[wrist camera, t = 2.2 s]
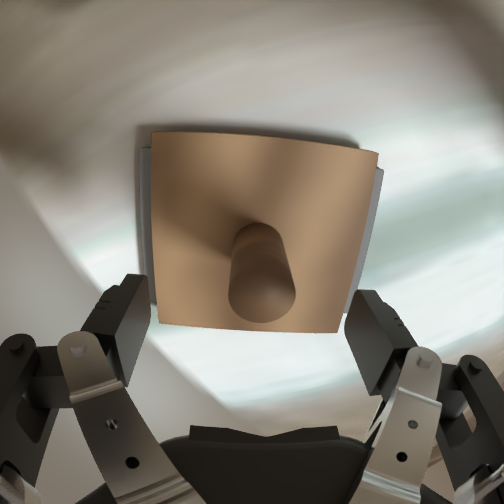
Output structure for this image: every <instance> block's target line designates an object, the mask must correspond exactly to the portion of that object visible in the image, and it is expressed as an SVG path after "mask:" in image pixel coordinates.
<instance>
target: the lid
mask: <svg viewBox="0 0 504 504" xmlns="http://www.w3.org/2000/svg"><path fill="white" fill-rule="evenodd" d="M378 155H379V153H376V152H373V151H369V150H364V149H358V148H353V147H347V146H341V145H334V144H328V143H321V142H314V141H306V140H298V139H290V138H280V137H271V136H260V135H247V134H233V133H214V132H183V131H156V132H152V134H151V220H152V244H153V261H154V275H155V288H156V299H157V309H158V319H159V323H161V324H170V325H180V326H191V327H203V328H215V329H229V330H246V331H265V332H293V333H337V332H338V329H339V325H340V322H341V319H342V315H343V312H344V308H345V305H346V301H347V298H348V294H349V291H350V287H351V283H352V279H353V276H354V272H355V268H356V264H357V260H358V256H359V251H360V247H361V243H362V239H363V234H364V230H365V225H366V220H367V216H368V211H369V206H370V201H371V195H372V190H373V185H374V179H375V173H376V167H377V161H378Z"/></svg>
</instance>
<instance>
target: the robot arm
mask: <svg viewBox="0 0 504 504" xmlns="http://www.w3.org/2000/svg"><path fill="white" fill-rule="evenodd" d="M150 318H151V307H150V296H149V285H148V277H147V276H146V275H138V274H127V275H126V276H125V278H124V280H123V281H122V283H121V284H120V286H118V285H113V286H112V287H110V288H109V289H108V290H106V291H105V292H104V293H103V295H102V296H101V298H100V299H99V302H98V303H97V304H96V306H95V309H93V310H92V312H91V314H90V315H89V317H88V318H87V320H86V322H85V323H84V325H83V326H82V328H81V330H80V331H77V332H72V333H69V334H67V335H66V336H64V337H63V338H62V339H61V340H60V341H59V344H58V346H44V347H37V346H36V343H35V341H34V339H33V338H32V337H31V336H30V335H27V334H15V335H13V336H10V337H9V338H7V339H6V340H5V341H4V342H3V343H2V344H1V346H0V504H42V499H41V496H40V494H39V493H38V491H37V490H36V489H35V484H36V480H37V476H38V473H39V469H40V466H41V462H42V459H43V456H44V453H45V449H46V446H47V443H48V440H49V437H50V434H51V431H52V428H53V425H54V422H55V419H56V416H57V414H58V411H59V408H73V409H74V412H75V415H76V417H77V420H78V422H79V425H80V427H81V430H82V432H83V435H84V437H85V440H86V441H87V444H88V446H89V448H90V451H91V453H92V455H93V457H94V459H95V462H96V464H97V466H98V468H99V470H100V472H101V473H102V476H103V478H104V480H105V481H106V482H105V483H104V484H103V485H101V486H100V487H98V488H97V489H96V490H94V491H93V492H91V493H90V494H88V495H87V496H86V497H84V498H83V499H81V500H80V501H78V502H77V503H75V504H504V391H503V390H502V388H501V387H500V385H499V383H498V382H497V380H496V379H495V377H494V376H493V374H492V372H491V371H490V369H489V368H488V366H487V365H486V364H485V362H484V361H482V360H481V359H480V358H478V357H476V356H473V355H464V356H463V357H461V359H460V361H459V362H458V364H457V365H451V364H445V363H442V361H441V359H440V357H439V356H438V355H437V354H436V353H435V352H433V351H432V350H430V349H428V348H425V347H419V346H418V345H417V343H416V342H415V340H414V339H413V337H412V335H411V334H410V332H409V331H408V329H407V328H406V326H404V323H403V322H402V320H401V319H400V317H399V316H398V314H397V313H396V311H395V310H394V309H393V308H392V307H390V306H389V305H388V304H387V303H385V302H383V301H382V300H381V298H380V297H379V295H378V294H377V292H376V291H375V290H356V291H355V292H354V295H353V298H352V301H351V304H350V308H349V311H348V314H347V317H346V320H345V326H344V331H345V336H346V339H347V341H348V343H349V346H350V348H351V351H352V353H353V356H354V358H355V360H356V363H357V365H358V368H359V370H360V373H361V375H362V378H363V380H364V383H365V385H366V388H367V391H368V393H369V396H373V395H382V400H381V402H380V403H379V406H378V408H377V410H376V412H375V414H374V417H373V419H372V421H371V423H370V425H369V427H368V430H367V432H366V434H365V436H364V438H363V439H362V441H359V440H356V439H353V438H350V437H345V436H340V435H339V432H338V428H337V426H328V427H314V428H302V429H298V430H294V431H290V432H286V433H282V434H278V435H274V436H269V437H264V436H259V435H254V434H249V433H246V432H241V431H237V430H233V429H229V428H218V427H204V426H193V425H191V426H190V434H189V435H186V436H180V437H175V438H172V439H169V440H166V441H163V442H161V443H158V442H157V441H156V439H155V437H154V436H153V434H152V433H151V431H150V430H149V428H148V426H147V425H146V423H145V422H144V420H143V418H142V417H141V415H140V414H139V412H138V410H137V408H136V407H135V405H134V403H133V401H132V400H131V398H130V396H129V394H128V393H127V391H126V389H125V387H128V384H129V381H130V378H131V375H132V372H133V369H134V366H135V363H136V360H137V358H138V355H139V351H140V349H141V346H142V343H143V341H144V338H145V335H146V332H147V329H148V327H149V324H150ZM468 404H469V406H470V408H471V410H472V412H473V414H474V416H475V418H476V422H477V424H476V429H475V431H474V432H473V433H472V432H471V430H470V427H469V425H468V423H467V421H466V419H465V417H464V415H463V413H462V412H463V411H464V409H465V408H466V407H467V405H468ZM17 406H18V407H17ZM435 437H436V440H437V443H438V445H439V448H440V451H441V453H442V456H443V459H444V461H445V464H446V467H447V470H448V472H449V476H450V479H451V481H452V485H453V488H454V491H455V494H454V498H453V503H451V502H450V501H448V500H447V499H445V498H443V497H442V496H440V495H439V494H437V493H436V492H434V491H433V490H431V489H430V488H428V487H427V486H425V485H424V484H422V481H423V478H424V475H425V472H426V469H427V465H428V462H429V458H430V455H431V451H432V447H433V444H434V440H435Z"/></svg>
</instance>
